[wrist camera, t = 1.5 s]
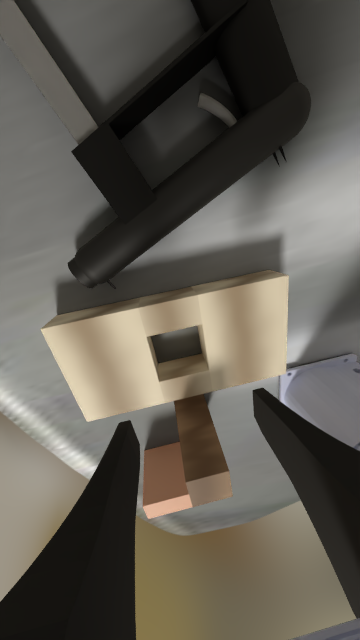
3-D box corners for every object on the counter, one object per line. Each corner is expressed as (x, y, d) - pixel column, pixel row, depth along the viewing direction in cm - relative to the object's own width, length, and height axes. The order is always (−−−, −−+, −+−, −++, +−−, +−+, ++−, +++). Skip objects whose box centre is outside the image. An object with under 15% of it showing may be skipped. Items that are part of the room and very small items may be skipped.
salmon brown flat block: (189, 438, 27) (199, 491, 21) (192, 450, 28) (203, 504, 22) (144, 450, 26) (142, 506, 21) (149, 462, 27) (148, 518, 22)
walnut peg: (202, 389, 24) (229, 471, 16) (205, 411, 25) (232, 496, 17) (173, 396, 24) (185, 482, 16) (178, 417, 25) (192, 507, 17)
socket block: (269, 269, 19) (288, 275, 17) (270, 357, 23) (286, 373, 21) (57, 315, 19) (40, 329, 16) (94, 398, 22) (87, 421, 20)
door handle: (-121, 64, 11) (98, 306, 16) (199, -293, 8) (334, 127, 13) (-57, 106, 14) (108, 296, 19) (188, -145, 11) (301, 150, 16)
